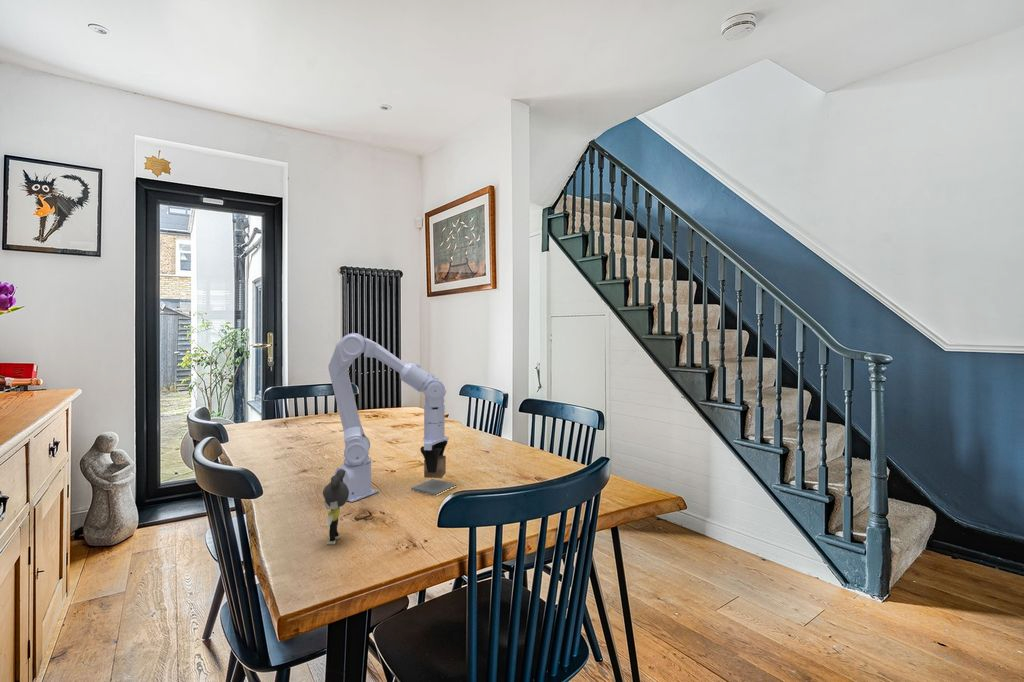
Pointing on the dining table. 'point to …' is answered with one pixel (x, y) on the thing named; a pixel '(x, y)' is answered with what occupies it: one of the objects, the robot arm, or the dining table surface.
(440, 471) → the walnut block
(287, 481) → the dining table surface
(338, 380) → the robot arm
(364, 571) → the dining table surface
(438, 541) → the dining table surface
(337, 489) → the toy
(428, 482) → the slate coaster
